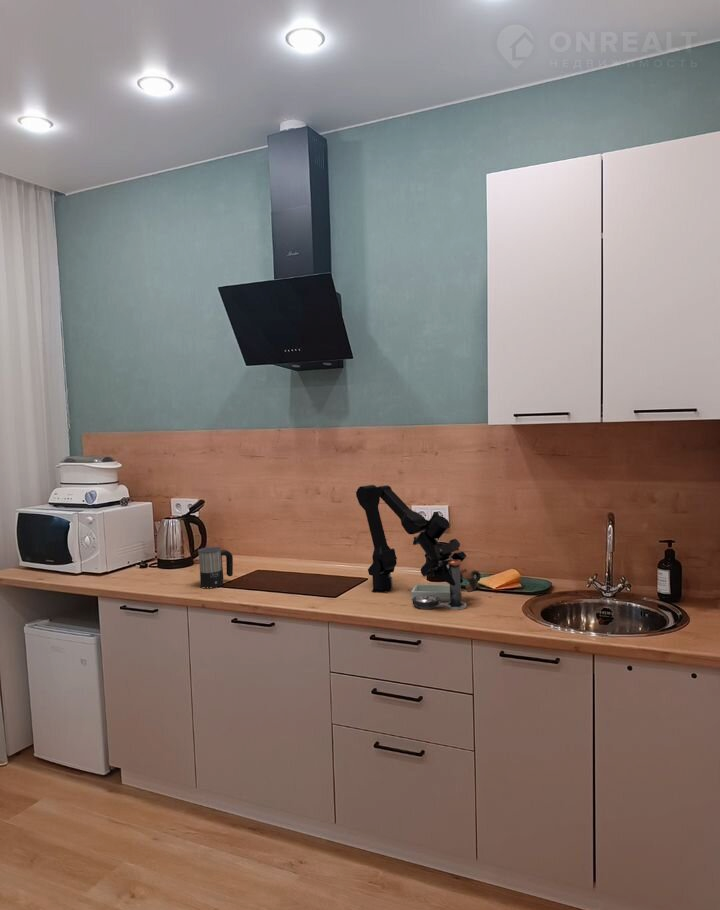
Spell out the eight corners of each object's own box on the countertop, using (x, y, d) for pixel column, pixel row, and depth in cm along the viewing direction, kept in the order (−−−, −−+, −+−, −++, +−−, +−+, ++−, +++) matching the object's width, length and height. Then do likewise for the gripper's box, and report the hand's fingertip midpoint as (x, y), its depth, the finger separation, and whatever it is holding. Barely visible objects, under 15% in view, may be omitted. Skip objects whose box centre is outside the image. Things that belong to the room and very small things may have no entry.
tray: (411, 600, 232) (411, 591, 232) (416, 592, 242) (415, 584, 241) (457, 601, 228) (457, 592, 228) (460, 593, 238) (460, 585, 238)
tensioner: (411, 609, 222) (411, 599, 221) (415, 601, 230) (415, 592, 230) (465, 610, 217) (464, 601, 217) (467, 603, 226) (466, 593, 225)
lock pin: (448, 607, 221) (446, 562, 220) (449, 603, 225) (448, 559, 224) (461, 607, 220) (460, 562, 219) (462, 603, 224) (461, 559, 223)
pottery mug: (462, 595, 237) (451, 574, 239) (453, 600, 246) (442, 580, 248) (489, 582, 242) (478, 561, 244) (479, 587, 250) (468, 568, 252)
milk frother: (210, 590, 258) (207, 552, 257) (184, 585, 267) (182, 548, 266) (237, 581, 269) (235, 545, 268) (212, 577, 278) (210, 542, 277)
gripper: (426, 536, 217) (454, 575, 210) (461, 527, 230) (488, 563, 223) (408, 557, 223) (435, 595, 216) (443, 547, 236) (470, 583, 229)
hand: (458, 583), depth 221 cm, fingers closed on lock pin, 4 cm apart
